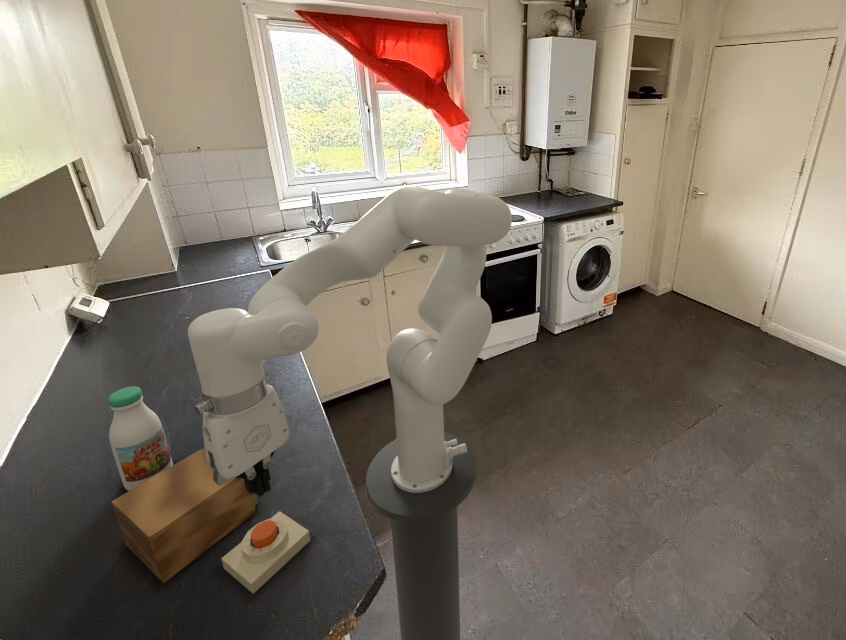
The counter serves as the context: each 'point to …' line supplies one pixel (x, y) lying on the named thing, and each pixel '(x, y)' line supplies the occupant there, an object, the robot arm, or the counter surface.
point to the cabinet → (180, 514)
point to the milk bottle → (137, 438)
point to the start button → (264, 534)
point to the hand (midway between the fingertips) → (259, 489)
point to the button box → (265, 553)
